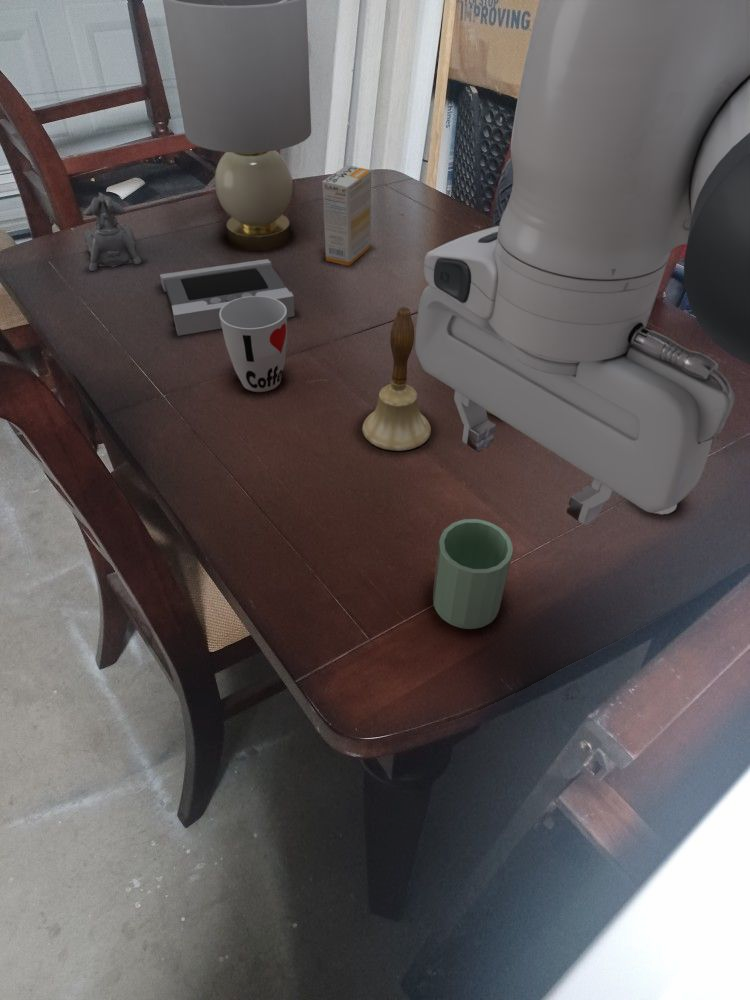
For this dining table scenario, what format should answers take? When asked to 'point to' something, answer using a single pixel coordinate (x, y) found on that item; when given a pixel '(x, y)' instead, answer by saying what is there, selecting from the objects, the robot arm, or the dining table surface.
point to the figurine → (109, 235)
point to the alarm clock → (219, 292)
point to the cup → (256, 340)
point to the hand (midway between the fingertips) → (526, 478)
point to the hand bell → (398, 398)
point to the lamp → (245, 103)
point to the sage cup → (471, 573)
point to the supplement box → (347, 214)
